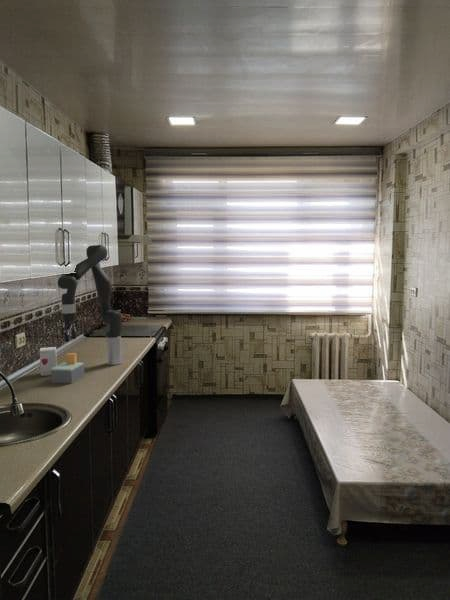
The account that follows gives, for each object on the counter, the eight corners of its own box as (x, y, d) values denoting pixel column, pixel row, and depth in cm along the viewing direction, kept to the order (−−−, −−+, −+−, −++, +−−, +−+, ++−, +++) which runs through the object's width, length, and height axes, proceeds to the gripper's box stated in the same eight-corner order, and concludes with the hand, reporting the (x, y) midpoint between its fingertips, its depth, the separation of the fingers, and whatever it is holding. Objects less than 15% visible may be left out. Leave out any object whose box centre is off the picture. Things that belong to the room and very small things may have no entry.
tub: (64, 375, 297) (64, 363, 296) (84, 376, 295) (83, 364, 294) (51, 382, 283) (50, 370, 282) (71, 383, 280) (71, 370, 280)
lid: (64, 365, 297) (63, 352, 296) (83, 366, 294) (83, 353, 294) (50, 372, 282) (50, 358, 281) (71, 372, 280) (70, 358, 279)
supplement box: (40, 376, 298) (38, 350, 296) (41, 372, 306) (40, 347, 305) (57, 374, 300) (55, 349, 299) (57, 371, 309) (56, 346, 307)
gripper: (68, 310, 297) (70, 338, 299) (56, 313, 283) (58, 342, 285) (80, 310, 296) (82, 338, 298) (69, 313, 282) (70, 342, 284)
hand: (70, 340), depth 291 cm, fingers open, 8 cm apart
